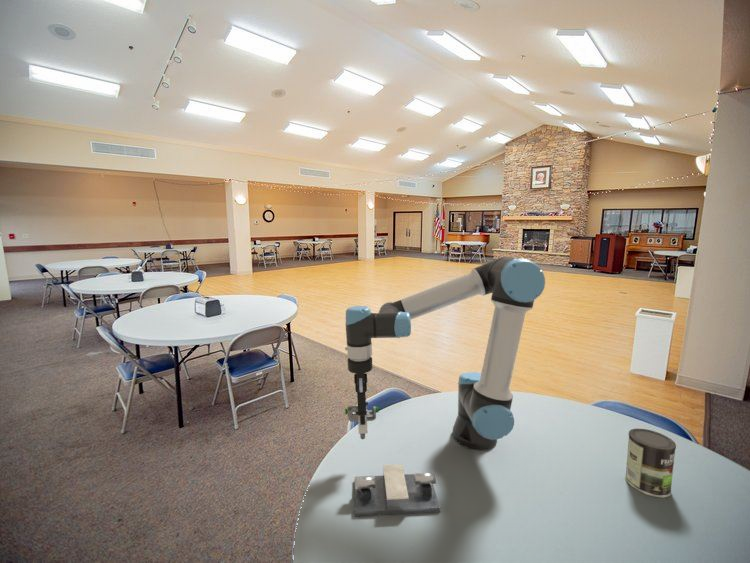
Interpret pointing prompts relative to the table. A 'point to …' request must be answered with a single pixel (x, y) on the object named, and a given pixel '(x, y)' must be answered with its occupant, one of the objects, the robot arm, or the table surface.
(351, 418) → the mechanical component
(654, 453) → the coffee can
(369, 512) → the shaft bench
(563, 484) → the table surface
